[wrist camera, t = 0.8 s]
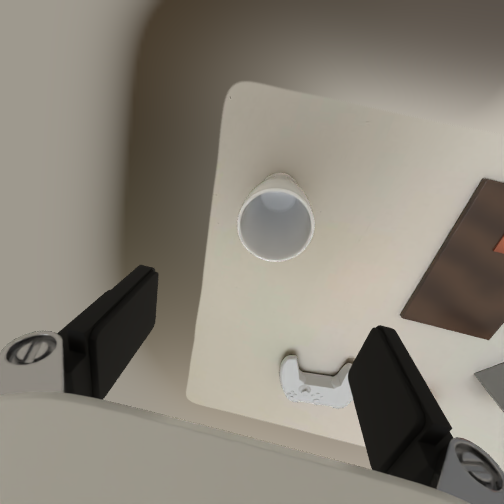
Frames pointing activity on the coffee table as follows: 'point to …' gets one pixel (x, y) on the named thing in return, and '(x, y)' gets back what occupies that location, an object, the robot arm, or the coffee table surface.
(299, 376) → the game controller
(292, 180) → the drinking glass
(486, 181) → the corner board
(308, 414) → the coffee table surface
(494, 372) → the perfume bottle
